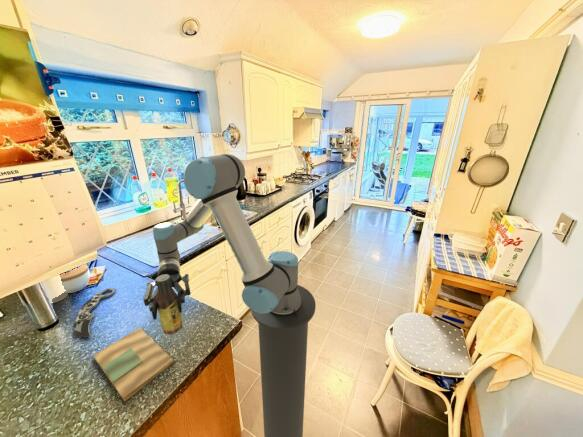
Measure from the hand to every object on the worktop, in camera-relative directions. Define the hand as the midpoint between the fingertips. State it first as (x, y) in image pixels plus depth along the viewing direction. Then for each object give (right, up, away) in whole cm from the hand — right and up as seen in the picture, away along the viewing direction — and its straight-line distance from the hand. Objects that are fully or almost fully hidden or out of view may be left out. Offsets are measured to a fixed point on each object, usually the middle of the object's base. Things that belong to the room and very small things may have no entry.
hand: (167, 312), depth 70 cm
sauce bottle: (-2, -9, +8) cm, 12 cm away
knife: (-43, -10, +24) cm, 50 cm away
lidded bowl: (-62, -4, +38) cm, 73 cm away
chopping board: (-13, -17, +4) cm, 22 cm away
